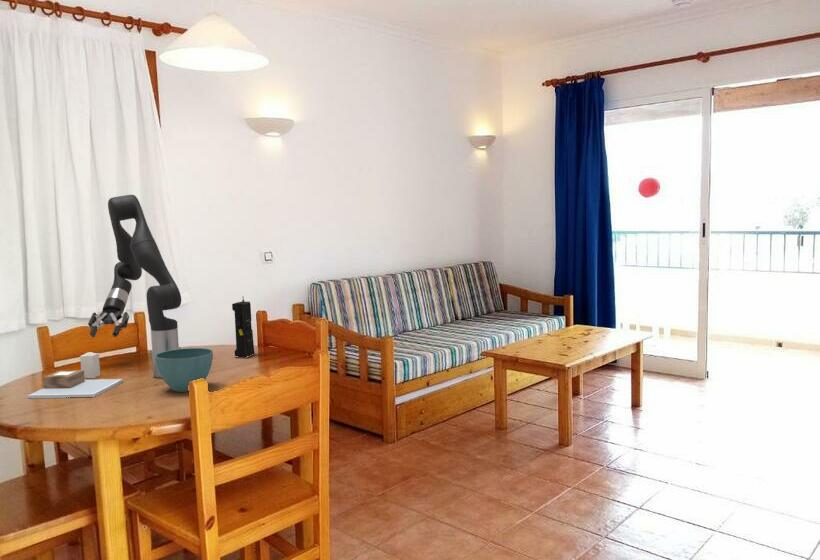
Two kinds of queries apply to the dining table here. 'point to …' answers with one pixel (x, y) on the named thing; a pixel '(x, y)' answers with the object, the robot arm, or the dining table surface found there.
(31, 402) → the dining table surface
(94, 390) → the build board
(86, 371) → the block
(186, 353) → the teal bowl
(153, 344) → the robot arm
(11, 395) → the dining table surface
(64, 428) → the dining table surface
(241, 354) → the portable radio
